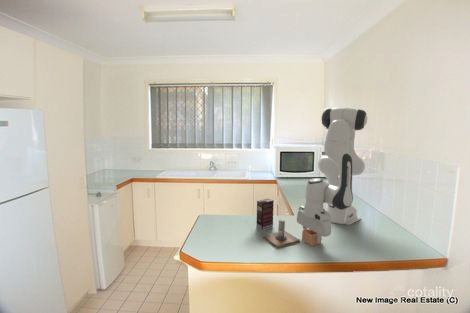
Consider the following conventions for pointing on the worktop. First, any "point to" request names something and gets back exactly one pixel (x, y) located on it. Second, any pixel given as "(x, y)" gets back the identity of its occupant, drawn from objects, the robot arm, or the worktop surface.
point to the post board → (281, 243)
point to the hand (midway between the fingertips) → (311, 237)
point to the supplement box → (264, 214)
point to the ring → (310, 237)
